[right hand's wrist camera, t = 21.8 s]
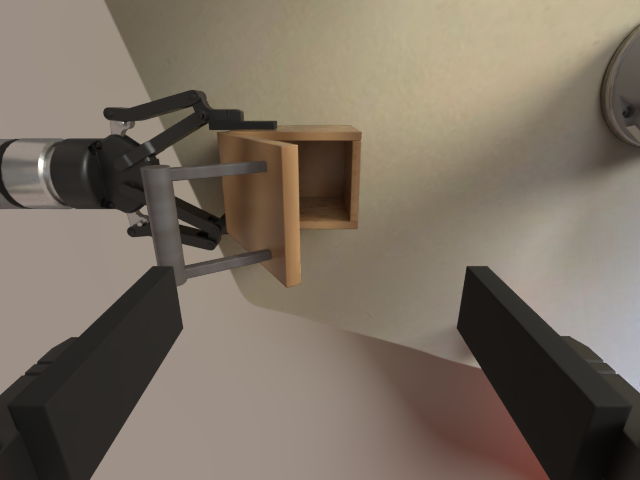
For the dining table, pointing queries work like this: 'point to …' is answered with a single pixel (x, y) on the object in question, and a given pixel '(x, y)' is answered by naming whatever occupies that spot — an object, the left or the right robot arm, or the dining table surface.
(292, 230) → the lid
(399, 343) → the dining table surface
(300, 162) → the chest
